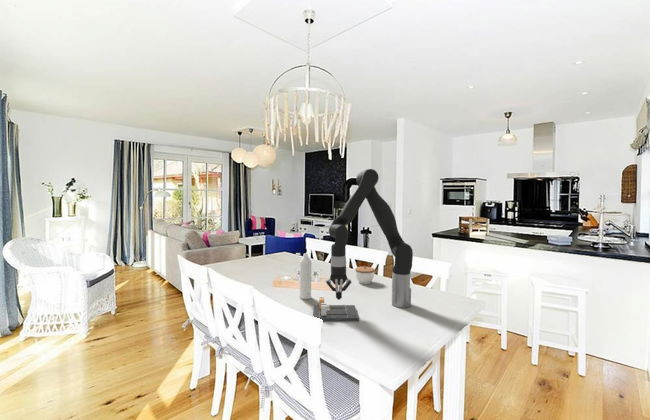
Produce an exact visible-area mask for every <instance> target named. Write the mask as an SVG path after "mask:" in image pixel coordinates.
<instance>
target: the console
mask: <svg viewBox="0 0 650 420" xmlns="http://www.w3.org/2000/svg"><path fill="white" fill-rule="evenodd" d="M312 311H313V313H312V317H313V316H314V317H317V318H320V319H322V320H323V321H322V322H359V320H360V319H359V315H358V312H357V311H358V310H357V308H356V305H355V304H354V305H353V304H327V316H321V309H319V304H313V310H312Z"/></svg>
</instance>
